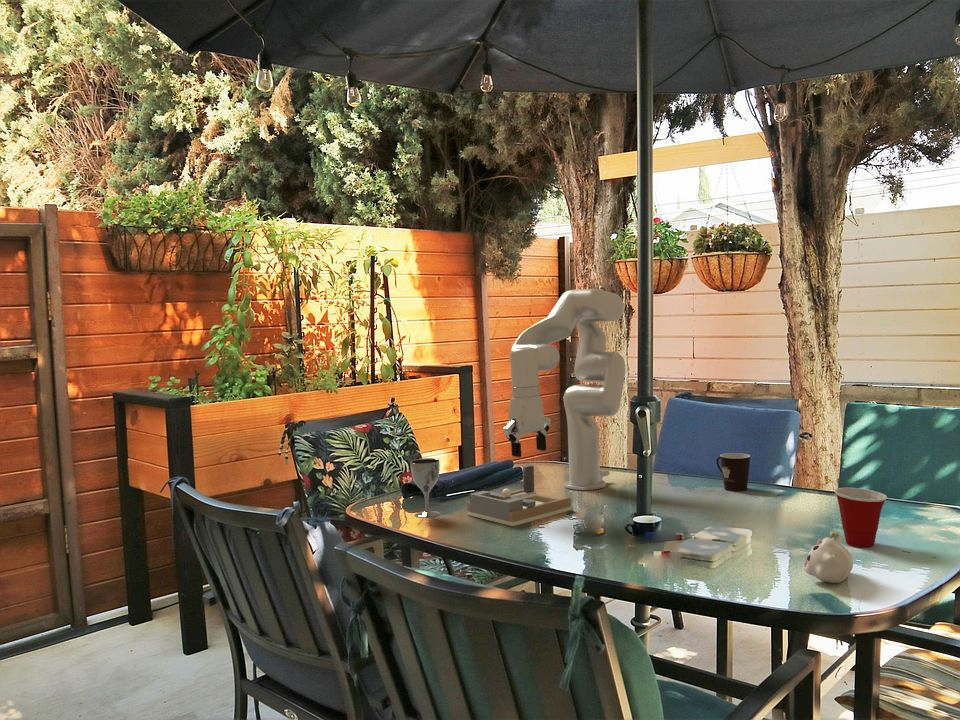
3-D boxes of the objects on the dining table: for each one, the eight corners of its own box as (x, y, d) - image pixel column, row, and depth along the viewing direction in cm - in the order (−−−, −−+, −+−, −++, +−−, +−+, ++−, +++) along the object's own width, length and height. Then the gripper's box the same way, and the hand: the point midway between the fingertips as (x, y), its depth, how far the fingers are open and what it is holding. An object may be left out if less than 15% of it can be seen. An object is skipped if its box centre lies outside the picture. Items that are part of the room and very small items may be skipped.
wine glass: (443, 510, 232) (441, 457, 232) (439, 518, 225) (437, 463, 224) (415, 511, 233) (413, 458, 232) (410, 518, 225) (408, 463, 224)
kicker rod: (512, 498, 238) (511, 461, 237) (558, 508, 224) (556, 469, 224) (481, 506, 230) (480, 467, 229) (527, 516, 217) (525, 476, 216)
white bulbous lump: (830, 522, 171) (822, 532, 158) (866, 546, 168) (861, 558, 155) (804, 559, 173) (794, 572, 160) (840, 583, 170) (833, 599, 157)
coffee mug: (754, 491, 241) (754, 457, 240) (725, 492, 241) (724, 458, 240) (742, 483, 252) (742, 450, 252) (714, 484, 253) (713, 451, 252)
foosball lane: (525, 500, 241) (524, 480, 241) (570, 510, 228) (570, 488, 227) (467, 514, 227) (466, 493, 226) (512, 526, 213) (511, 503, 213)
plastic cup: (887, 553, 179) (886, 498, 179) (832, 548, 184) (832, 495, 184) (888, 540, 189) (888, 488, 188) (837, 535, 194) (836, 485, 193)
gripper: (538, 387, 236) (541, 446, 238) (493, 395, 225) (497, 457, 227) (557, 388, 231) (560, 449, 232) (512, 397, 219) (516, 460, 221)
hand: (529, 453), depth 229 cm, fingers open, 9 cm apart
